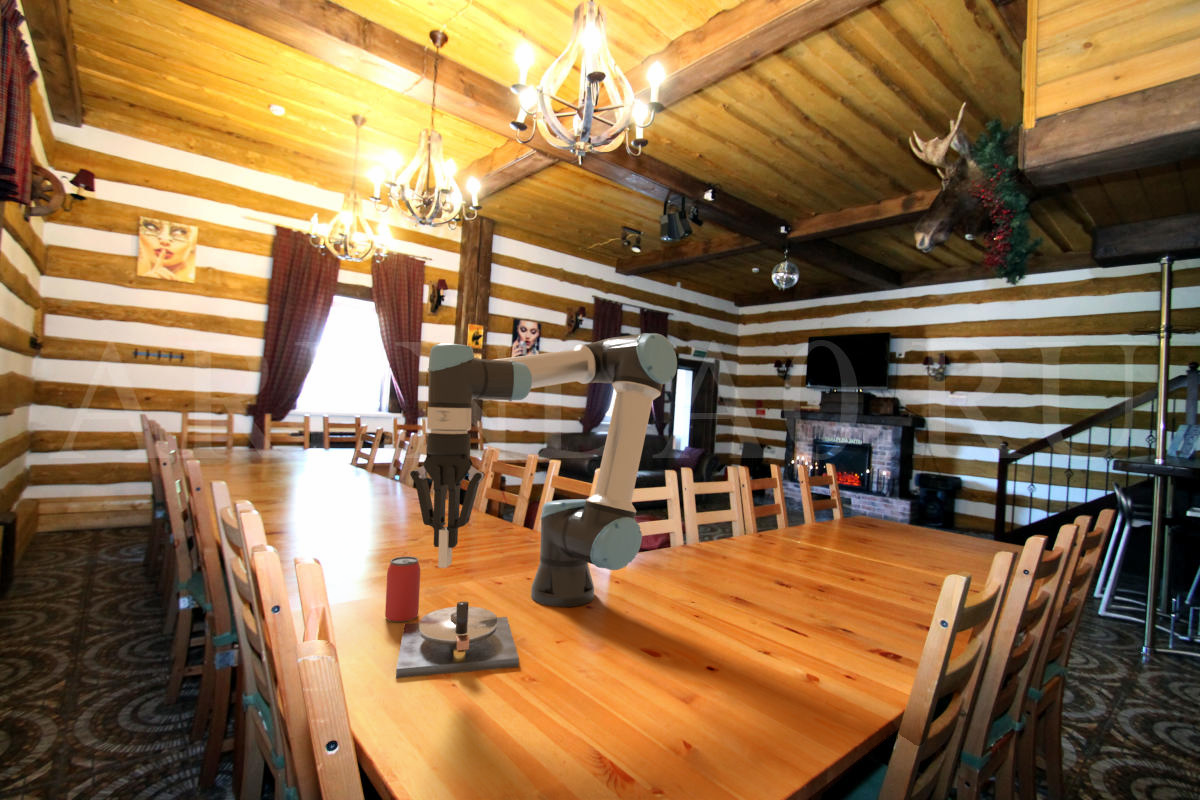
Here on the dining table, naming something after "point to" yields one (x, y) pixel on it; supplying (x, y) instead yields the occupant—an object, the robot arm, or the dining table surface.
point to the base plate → (442, 654)
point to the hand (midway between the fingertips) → (444, 565)
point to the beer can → (402, 589)
